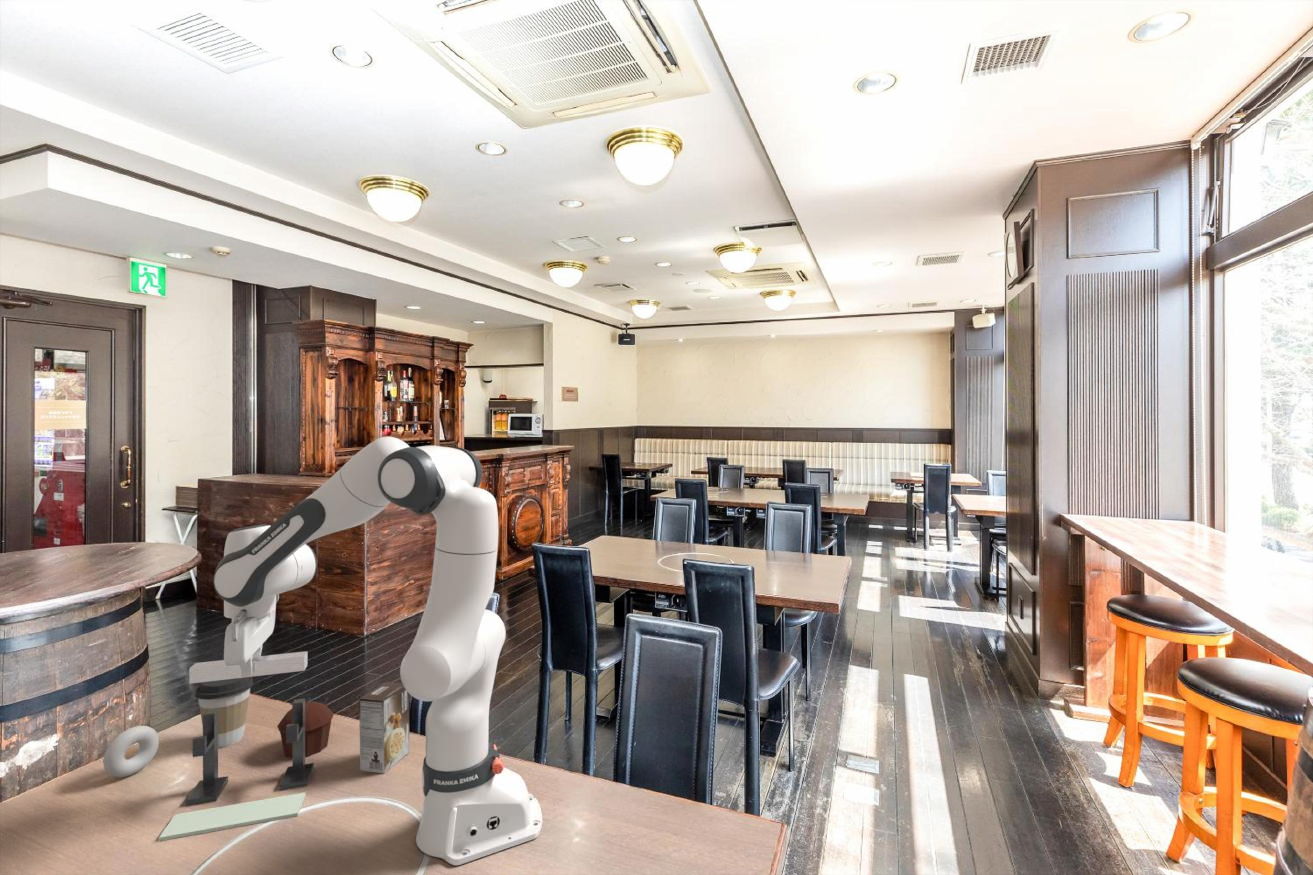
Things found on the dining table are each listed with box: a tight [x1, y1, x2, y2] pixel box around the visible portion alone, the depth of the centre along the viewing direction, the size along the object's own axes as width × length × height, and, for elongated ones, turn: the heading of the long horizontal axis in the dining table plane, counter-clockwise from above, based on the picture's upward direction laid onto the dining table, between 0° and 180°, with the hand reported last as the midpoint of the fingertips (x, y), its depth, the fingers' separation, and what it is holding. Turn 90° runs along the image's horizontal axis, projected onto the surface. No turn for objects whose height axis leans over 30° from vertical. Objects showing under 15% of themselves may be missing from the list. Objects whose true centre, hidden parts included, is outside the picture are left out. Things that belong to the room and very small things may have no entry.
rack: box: [185, 698, 315, 807], centre depth 125 cm, size 21×8×16 cm, turn 109°
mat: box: [158, 792, 307, 842], centre depth 116 cm, size 22×7×1 cm, turn 109°
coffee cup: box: [194, 677, 254, 749], centre depth 144 cm, size 11×11×15 cm
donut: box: [102, 725, 160, 778], centre depth 130 cm, size 10×4×10 cm, turn 161°
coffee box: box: [358, 681, 410, 774], centre depth 135 cm, size 9×6×16 cm
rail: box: [188, 650, 308, 685], centre depth 124 cm, size 20×3×3 cm, turn 109°
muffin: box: [276, 701, 334, 759], centre depth 140 cm, size 12×11×10 cm
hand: (250, 671), depth 124 cm, fingers closed on rail, 3 cm apart
